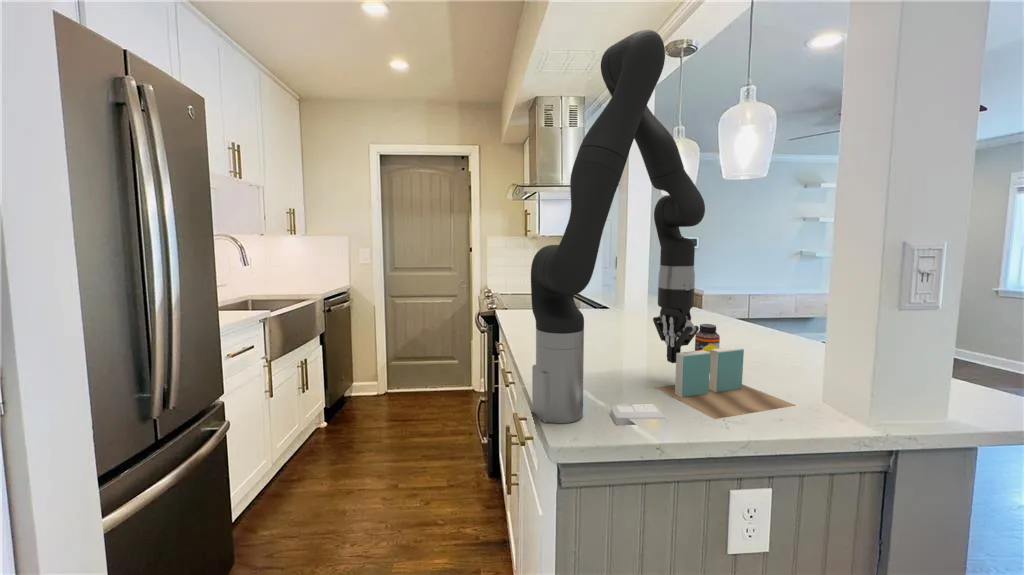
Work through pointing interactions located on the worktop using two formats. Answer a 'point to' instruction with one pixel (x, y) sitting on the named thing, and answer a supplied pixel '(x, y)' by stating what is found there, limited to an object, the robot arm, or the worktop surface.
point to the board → (729, 401)
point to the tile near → (692, 373)
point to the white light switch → (634, 413)
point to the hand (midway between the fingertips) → (673, 362)
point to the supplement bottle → (706, 337)
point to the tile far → (726, 369)
